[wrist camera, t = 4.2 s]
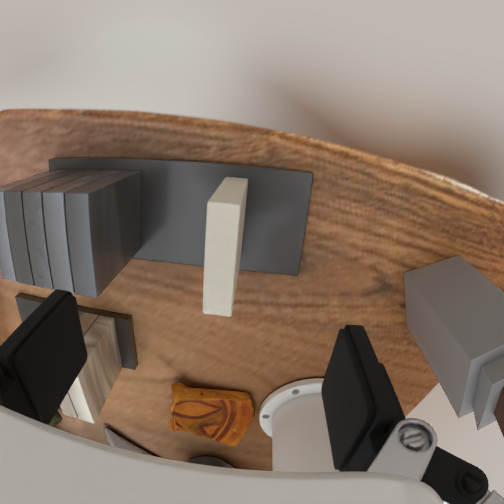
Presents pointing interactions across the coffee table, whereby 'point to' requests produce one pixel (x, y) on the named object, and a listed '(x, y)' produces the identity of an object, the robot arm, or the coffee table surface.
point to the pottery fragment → (211, 413)
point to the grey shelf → (141, 219)
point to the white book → (223, 245)
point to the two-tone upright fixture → (94, 356)
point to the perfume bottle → (460, 334)
